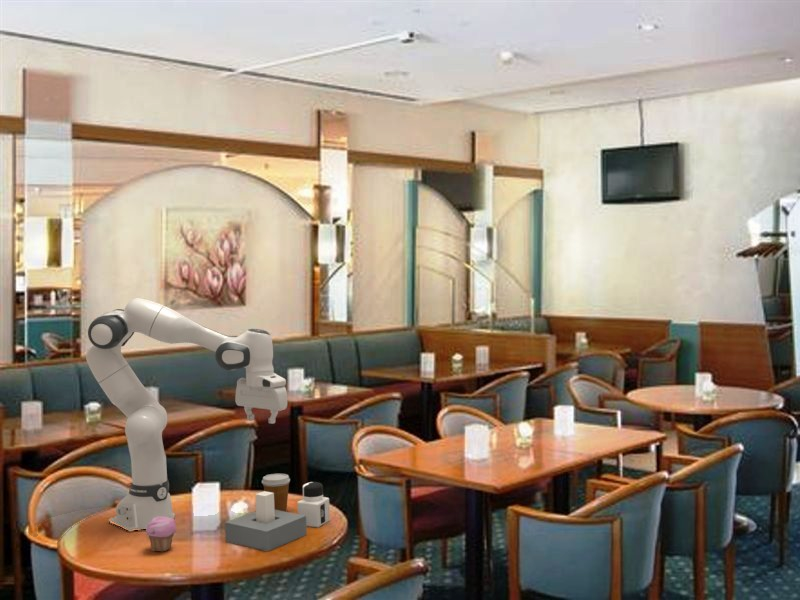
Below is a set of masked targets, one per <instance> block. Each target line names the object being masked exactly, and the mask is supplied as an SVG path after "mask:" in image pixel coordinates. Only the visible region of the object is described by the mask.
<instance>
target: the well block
mask: <svg viewBox="0 0 800 600" xmlns="http://www.w3.org/2000/svg"><path fill="white" fill-rule="evenodd" d="M224 525H225V527H224V528H225V529H224V531H225V542H227V543H230V544H235V545H238V546H239V545H240V546H244V547H248V548H252V549H255V550H260V551H263V552H269V551H271V550H275V549H277V548H279V547H281V546H283V545H286V544H288V543H290V542H293V541H296V540H297V539H300V538H303V537H305V536H307V526H306V516H304V515H299V514H298V513H295V512H288V511H286V512H284V511H280V510H275V520H274V521H271V522H269V523H261V522H257V521H256V510H254V511H251V512H249V513H246V514H243V515H241V516H238V517H235V518H233V519H230V520H228V521H225V522H224Z"/></svg>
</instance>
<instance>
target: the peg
mask: <svg viewBox="0 0 800 600" xmlns="http://www.w3.org/2000/svg"><path fill="white" fill-rule="evenodd" d="M254 495H255V511H256V521H257V522H261V523H269V522H271V521H274V520H275V508H274V493H272V492H266V491H264V490H263V491H260V492H258V493H255V494H254Z"/></svg>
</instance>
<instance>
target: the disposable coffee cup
mask: <svg viewBox="0 0 800 600" xmlns="http://www.w3.org/2000/svg"><path fill="white" fill-rule="evenodd" d="M290 482H291V478H290V476H289V474H286V473H271V474H266V475H265V476H263V477H262V480H261V484H262V485H263V491H266V492H272V493H274V508H275V510H280V511H284V512H287V511H288V508H287V507H288V497H289V496H288V495H289V488H290V487H289V486H290Z"/></svg>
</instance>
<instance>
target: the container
mask: <svg viewBox="0 0 800 600" xmlns="http://www.w3.org/2000/svg"><path fill="white" fill-rule="evenodd" d="M296 508H297V514H299V515H304V516H306V527H311V528H320V527H321V526H323V525H325V524H327V523H328V522H329V521H330V520H331V517H330V515H331V513H330V512H331V511H330V498H329V497H326V496H324V485H323V484H322V483H321V482H318V481H310V482H307V483H304V484H303V485H302V499H301V500H299V501H297V507H296Z"/></svg>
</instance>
